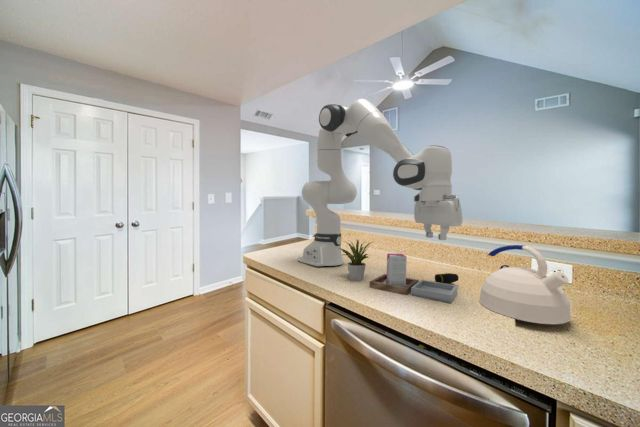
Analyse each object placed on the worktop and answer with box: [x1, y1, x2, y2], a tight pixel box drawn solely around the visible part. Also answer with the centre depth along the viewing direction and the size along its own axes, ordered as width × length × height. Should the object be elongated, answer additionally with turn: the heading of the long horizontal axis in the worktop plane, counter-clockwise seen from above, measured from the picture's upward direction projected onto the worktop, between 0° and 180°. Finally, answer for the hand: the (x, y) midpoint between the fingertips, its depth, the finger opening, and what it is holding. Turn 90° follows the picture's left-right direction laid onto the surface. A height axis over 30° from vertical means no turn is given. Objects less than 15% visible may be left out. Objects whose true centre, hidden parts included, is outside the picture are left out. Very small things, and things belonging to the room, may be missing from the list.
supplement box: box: [385, 253, 407, 287], centre depth 91 cm, size 6×6×12 cm
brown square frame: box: [368, 273, 420, 296], centre depth 91 cm, size 13×13×2 cm
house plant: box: [339, 239, 373, 282], centre depth 100 cm, size 14×14×16 cm
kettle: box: [478, 244, 572, 325], centre depth 72 cm, size 20×21×18 cm
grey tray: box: [410, 279, 459, 304], centre depth 83 cm, size 12×12×2 cm
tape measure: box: [434, 272, 459, 284], centre depth 94 cm, size 7×7×4 cm
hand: (435, 238), depth 83 cm, fingers open, 5 cm apart
